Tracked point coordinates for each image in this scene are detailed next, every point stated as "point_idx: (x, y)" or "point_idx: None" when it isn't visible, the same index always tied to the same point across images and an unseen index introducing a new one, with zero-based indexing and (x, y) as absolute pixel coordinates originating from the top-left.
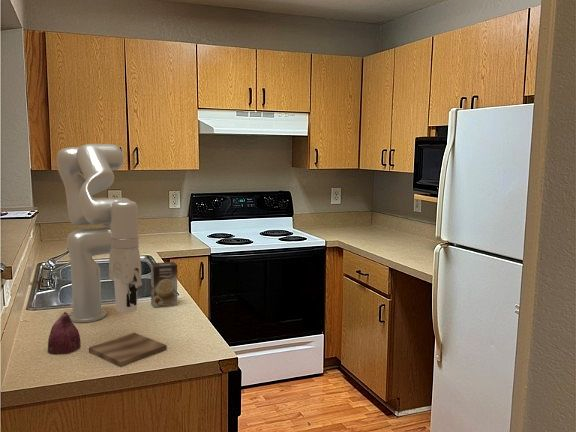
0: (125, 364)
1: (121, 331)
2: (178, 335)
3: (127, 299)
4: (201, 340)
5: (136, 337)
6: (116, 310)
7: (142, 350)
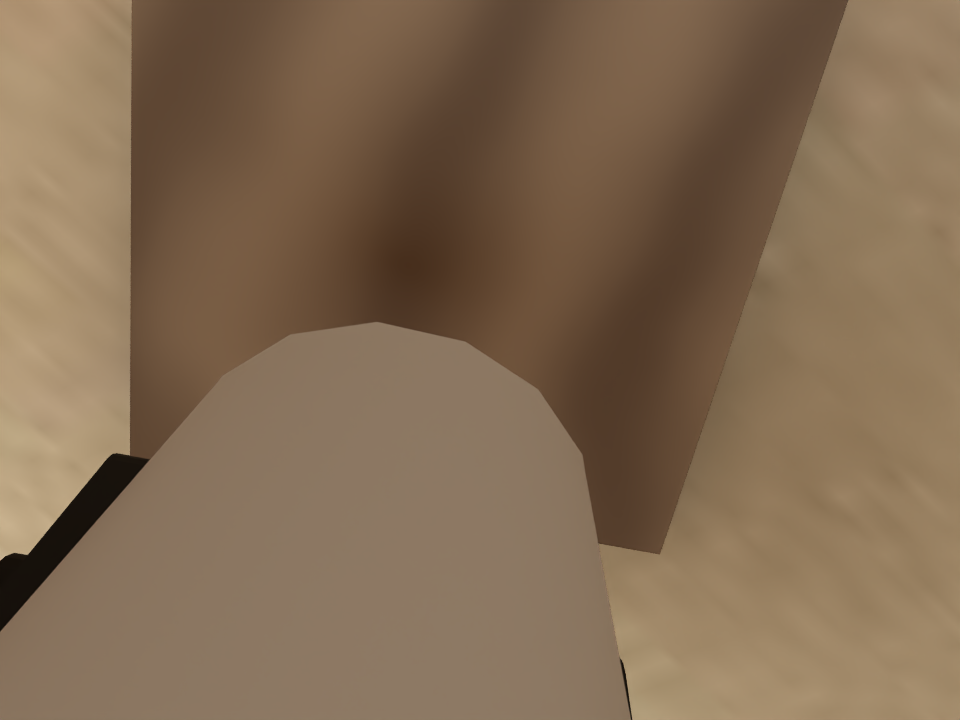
0: None
1: (879, 574)
2: None
3: (12, 586)
4: None
5: None
6: (497, 367)
7: (207, 239)
